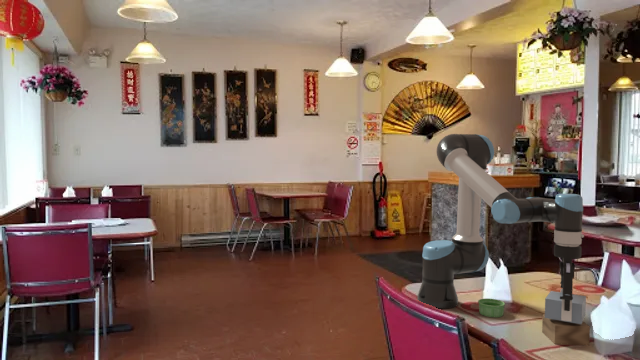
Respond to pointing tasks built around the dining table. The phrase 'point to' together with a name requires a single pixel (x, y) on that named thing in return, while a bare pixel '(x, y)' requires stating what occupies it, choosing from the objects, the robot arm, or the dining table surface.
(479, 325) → the dining table surface
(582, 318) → the slate-grey block
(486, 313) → the ramekin
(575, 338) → the walnut base block
